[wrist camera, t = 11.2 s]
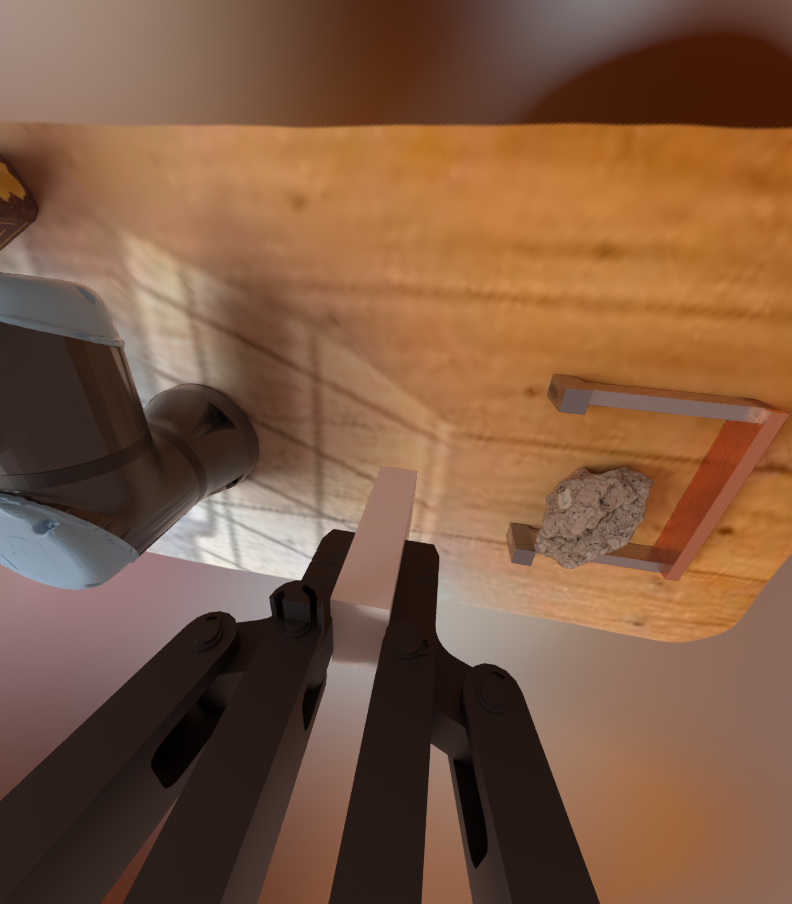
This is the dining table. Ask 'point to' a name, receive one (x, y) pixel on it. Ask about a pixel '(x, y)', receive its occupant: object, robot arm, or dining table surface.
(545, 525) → the rock
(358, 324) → the dining table surface
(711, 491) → the frame
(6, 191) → the book
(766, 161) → the dining table surface
